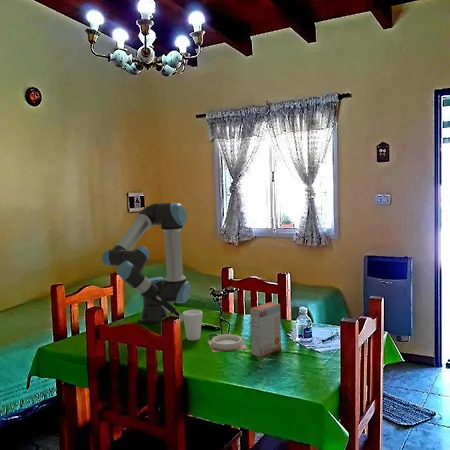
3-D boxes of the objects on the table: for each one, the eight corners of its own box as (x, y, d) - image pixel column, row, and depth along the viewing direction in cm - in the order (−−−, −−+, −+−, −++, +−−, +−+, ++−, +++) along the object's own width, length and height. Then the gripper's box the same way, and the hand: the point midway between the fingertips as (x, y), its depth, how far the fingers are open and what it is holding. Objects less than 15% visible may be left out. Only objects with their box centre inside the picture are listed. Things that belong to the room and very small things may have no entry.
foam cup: (200, 342, 219) (199, 315, 218) (181, 341, 220) (180, 314, 219) (205, 336, 228) (204, 310, 227) (186, 335, 230) (186, 309, 229)
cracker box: (271, 346, 211) (270, 301, 209) (281, 349, 207) (281, 303, 205) (250, 354, 201) (249, 307, 200) (261, 358, 197) (260, 310, 195)
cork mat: (207, 341, 220) (207, 340, 220) (240, 338, 223) (240, 337, 223) (212, 353, 205) (212, 352, 205) (248, 349, 208) (248, 348, 208)
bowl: (210, 340, 219) (210, 335, 219) (238, 338, 222) (238, 333, 222) (215, 350, 206) (214, 345, 206) (244, 348, 209) (244, 342, 208)
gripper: (133, 289, 222) (164, 315, 229) (148, 300, 199) (182, 329, 207) (143, 276, 224) (174, 303, 231) (159, 286, 201) (192, 315, 209)
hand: (178, 315), depth 219 cm, fingers open, 13 cm apart
